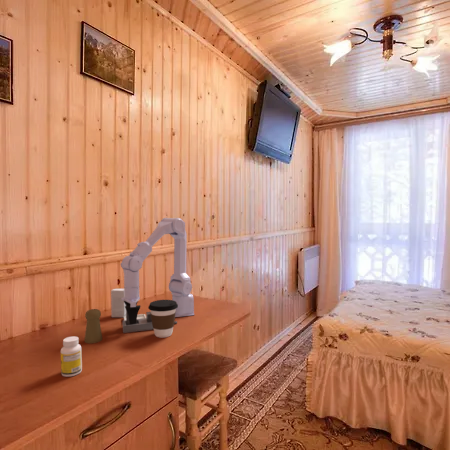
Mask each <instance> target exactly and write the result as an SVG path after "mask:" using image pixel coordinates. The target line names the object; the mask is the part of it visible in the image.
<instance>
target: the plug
mask: <svg viewBox="0 0 450 450" xmlns="http://www.w3.org/2000/svg"><path fill="white" fill-rule="evenodd" d="M126 325H131V324H130V322H129V316H128V312H127V310H126Z"/></svg>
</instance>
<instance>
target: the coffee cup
mask: <svg viewBox="0 0 450 450" xmlns="http://www.w3.org/2000/svg"><path fill="white" fill-rule="evenodd" d="M176 308H178V304H177V302H176V301H173V300H172V299H156V300H153V301H151V302H150V303H149V305H148V309H149V312H151V313H150V314H151V320H152V326H153V329H152V330H153V332H154V333H153V334H154V335H155V337H157V338H160V339H161V338H168V337H170V336H172V334H173V330H174V327H175V324H174V321H176V320H175V319H176V317H175V314H176Z"/></svg>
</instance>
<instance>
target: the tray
mask: <svg viewBox="0 0 450 450" xmlns="http://www.w3.org/2000/svg"><path fill="white" fill-rule="evenodd" d="M142 318H146V314H145V313H144V314H143V313H140V314H138V315H137V319H142ZM124 320H126V316H124V317H123V321H124Z"/></svg>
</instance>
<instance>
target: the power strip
mask: <svg viewBox="0 0 450 450" xmlns="http://www.w3.org/2000/svg"><path fill="white" fill-rule="evenodd" d="M145 313H146V314H145V315H146V318H142V319H137V320H136V324H131V325H126V320H124V319H123V320H122V332H123V334H126V333H127V334H128V333H134V332H143V331H150V330H154V329H153V326H152V320H151V314H150V313H151V311H146V312H145ZM177 324H178V321H177V320H175V321H174V325H177Z"/></svg>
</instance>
